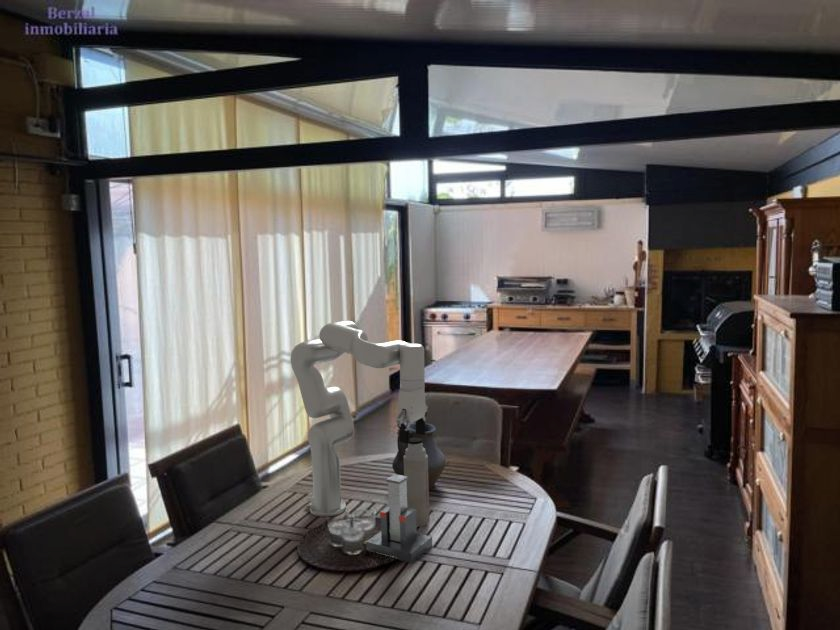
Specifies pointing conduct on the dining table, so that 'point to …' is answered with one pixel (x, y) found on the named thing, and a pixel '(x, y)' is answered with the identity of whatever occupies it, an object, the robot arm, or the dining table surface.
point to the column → (396, 503)
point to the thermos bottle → (417, 480)
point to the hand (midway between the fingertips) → (412, 438)
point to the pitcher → (434, 454)
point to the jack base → (410, 540)
